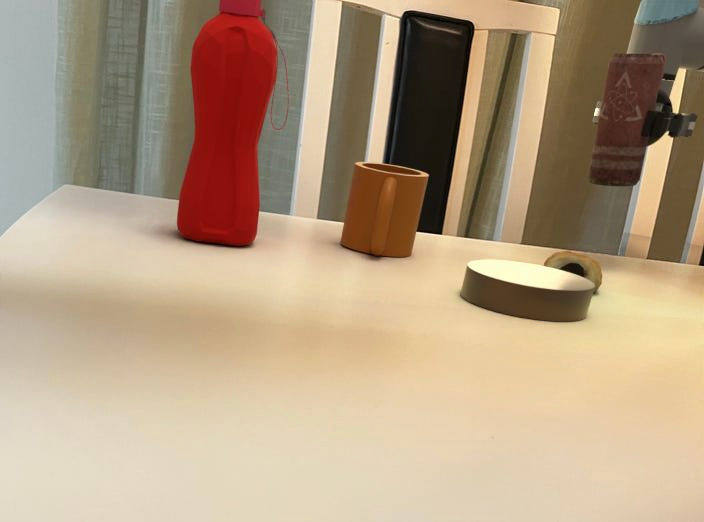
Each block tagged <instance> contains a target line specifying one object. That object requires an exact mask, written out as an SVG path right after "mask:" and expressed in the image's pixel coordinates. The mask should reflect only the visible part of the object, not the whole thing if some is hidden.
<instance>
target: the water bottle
mask: <svg viewBox="0 0 704 522" xmlns="http://www.w3.org/2000/svg"><path fill="white" fill-rule="evenodd" d="M262 1H263V0H219V4H218V12H219V13H218V14H217V15H215V16H213V17H212V18H210V19H209V20H207V21H206V22H205V23H204V25H203V26H202V27H201V29H200V31H199V32H198V34H197V36H196V37H195V39H194V42H193V45H192V47H191V58H190V79H191V90H192V101H193V112H194V113H193V115H194V117H193V118H194V137H193V139H194V140H193V143H192V147H191V151H190V154H189V159H188V162H187V166H186V169H185V173H184V177H183V181H182V183H181V187H180V192H179V198H178V207H177V215H176V229H177V231H178V233H179V234H181V236H182V237H183V238H184V239H187V240H191V241H194V242H202V243H210V244H216V245H217V244H218V245H225V246H236V247H242V246H248V245H250V244H251V243H252V242H254V241H255V240H256V237H257V235H258V226H259V217H260V216H259V215H260V206H261V200H260V199H261V198H260V197H261V196H260V177H259V154H258V145H259V141H260V137H261V133H262V130H263V126H264V122H265V119H266V116H267V111H268V109H269V104H270V100H271V106H270V122H271V126H272V127H273V128H274V130H277V131H279V130H282V129H283V128H284V127H285V125H286V123H287V119H288V115H289V106H286V107H287V108H286V116H285V121H284V124H283V125H282V126H281V127H280V128H276V126H274V123H273V116H272V115H273V114H272V113H273V104H274V98H275V97H274V96H275V89H276V84H277V83H276V82H277V78H278V68H279V67H278V66H279V54H278V48H279V50H280V52H281V54H282V57H283V60H284V66H285V67H284V69H285V74H286V75H285V76H286V86H287V90H286V91H289V81H288V80H289V79H288V70H287V64H286V63H287V62H286V58H285V54H284V52H283V50H282V49H281V47H280V44H279V43H278V41H277V37H276V35H275V33H274V31H273V30H272V29H271V28H270V26H269V25H268V23H266V19H267V18H266V13H267V11H266V9H265V8H263V9H261V8H262V3H263V2H262ZM260 18H261V19H260ZM277 47H278V48H277ZM271 97H272V99H271ZM289 101H290V100H289V95H287V103H290V102H289Z"/></svg>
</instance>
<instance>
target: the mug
mask: <svg viewBox="0 0 704 522" xmlns="http://www.w3.org/2000/svg"><path fill="white" fill-rule="evenodd" d="M429 177H430V175H429V174H428V173H427V172H424V171H421V170H419V169H414V168H411V167H410V168H409V167H405V166H402V165H401V166H400V165H396V164H395V165H394V164H388V163H383V162H373V161H372V162H371V161H357V162H356V161H355V162H354V165H353V170H352V176H351V182H350V188H349V194H348V199H347V204H346V210H345V214H344V215H345V216H344V220H343V225H342V230H341V231H342V232H341V238H340V244H341V245H342V246H344V247H346V248H349V249H351V250H355V251H356V252H361V253H365V254H371V255H374V256H376V257H377V256H378V257H379V256H384V257H394V258H404V257H405V258H406V257H410V256H412V254H413V249H414V244H415V240H416V235H417V230H418V227H419V222H420V217H421V213H422V208H423V203H424V199H425V193H426V190H427V185H428V180H429Z"/></svg>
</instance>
